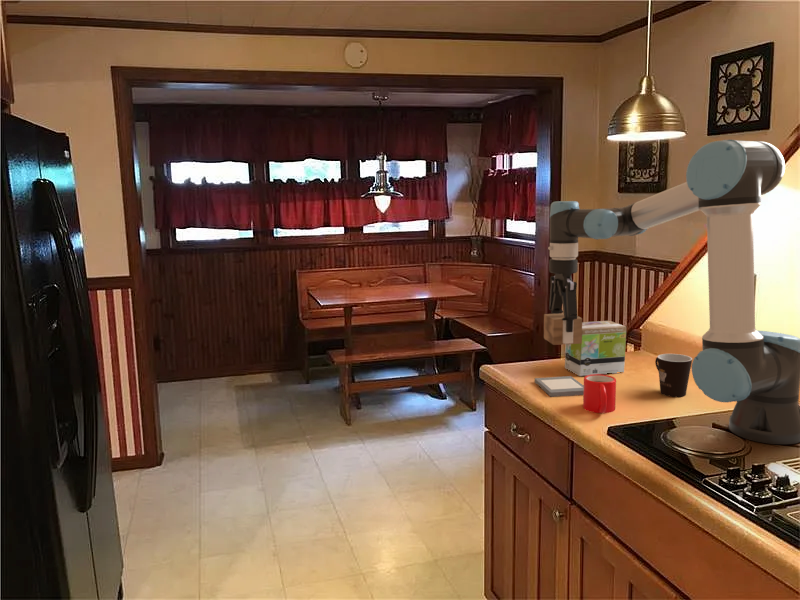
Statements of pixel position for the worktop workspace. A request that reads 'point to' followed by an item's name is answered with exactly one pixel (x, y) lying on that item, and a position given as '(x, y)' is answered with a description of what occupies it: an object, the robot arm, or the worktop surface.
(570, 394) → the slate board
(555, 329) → the walnut block
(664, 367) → the coffee mug
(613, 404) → the mug
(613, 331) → the tea box
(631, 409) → the worktop surface
